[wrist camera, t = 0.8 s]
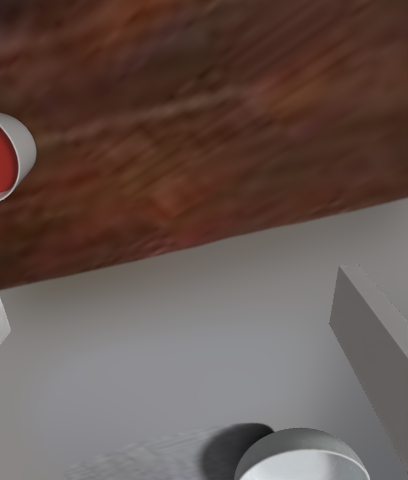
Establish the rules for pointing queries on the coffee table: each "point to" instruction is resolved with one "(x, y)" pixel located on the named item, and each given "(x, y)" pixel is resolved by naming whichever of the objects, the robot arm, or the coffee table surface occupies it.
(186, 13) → the coffee table surface
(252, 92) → the coffee table surface
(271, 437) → the serving bowl
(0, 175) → the candle
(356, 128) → the coffee table surface
